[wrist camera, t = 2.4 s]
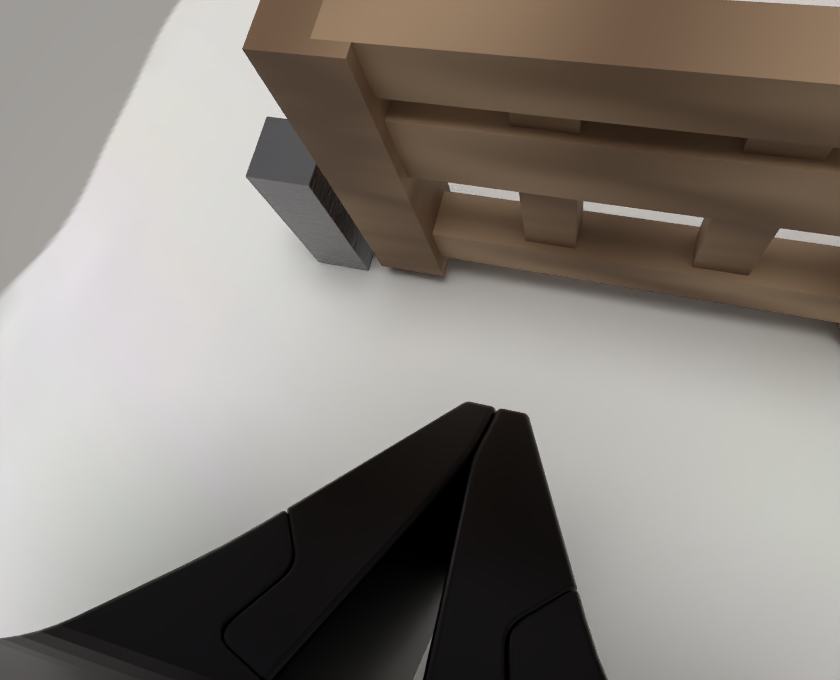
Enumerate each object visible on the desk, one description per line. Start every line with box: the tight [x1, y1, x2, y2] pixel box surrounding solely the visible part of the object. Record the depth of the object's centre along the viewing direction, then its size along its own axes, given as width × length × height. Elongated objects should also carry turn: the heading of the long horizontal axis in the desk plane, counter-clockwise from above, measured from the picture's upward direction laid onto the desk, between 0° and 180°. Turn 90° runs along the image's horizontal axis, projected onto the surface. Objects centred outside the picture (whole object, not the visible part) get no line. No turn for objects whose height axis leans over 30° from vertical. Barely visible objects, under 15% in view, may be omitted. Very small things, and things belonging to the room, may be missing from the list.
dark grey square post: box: [246, 117, 373, 270], centre depth 14 cm, size 2×18×9 cm, turn 75°
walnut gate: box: [242, 0, 840, 329], centre depth 14 cm, size 13×2×9 cm, turn 75°
